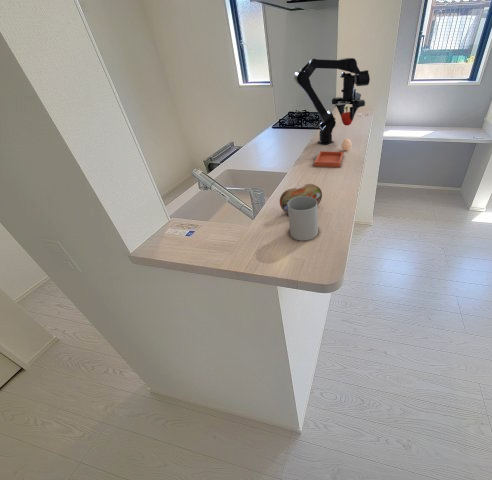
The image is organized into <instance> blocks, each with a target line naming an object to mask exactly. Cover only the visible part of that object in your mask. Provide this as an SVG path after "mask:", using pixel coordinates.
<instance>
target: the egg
mask: <svg viewBox="0 0 492 480" xmlns="http://www.w3.org/2000/svg"><path fill="white" fill-rule="evenodd" d="M351 148H352V142H351V140H350V139H349V138H345V139H343V140H342V142H341V149H342V150H343V151H345V152H347V151H349V150H350V149H351Z"/></svg>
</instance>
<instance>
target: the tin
mask: <svg viewBox="0 0 492 480" xmlns="http://www.w3.org/2000/svg"><path fill="white" fill-rule="evenodd" d="M300 196H308V197H312V198H314V199H315V200H316V201H317V206H319V204H320V203H321V201H322V198H323V192H322V189H321V188H320V187H319V186H318V185H316V184H313V183H306V184H303V185H300V186H299V185H298V186H296V187H293V188H288V189H286V190H285V191H283V192H282V194H281V195H280V196H279V197H280V198H279V207H280V208H281V210H282V211H283V212H284V214H286V215H289V214H288V202H289V200H291V199H293V198H295V197H300Z"/></svg>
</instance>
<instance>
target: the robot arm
mask: <svg viewBox="0 0 492 480" xmlns="http://www.w3.org/2000/svg"><path fill="white" fill-rule="evenodd" d="M317 69H325V70H327V69H330V70H331V69H332V70H340V71H342V72H341V74H339V78H342V80H343V81H342V89H341V93H342V96H337V97H336V96H335V97H332V99H331V105H334V106H335V107H336V109H337V110H338V111H337V112H338V113H339V116H341V115H342V113H345V109H344V108H345V107H346V105H351V106H349V112H350V118H351V120H353V121H354V119H355V115H356V113H357V111H358V109H359V108H362V107H365V106H366V101H365V99H361V97H362V94H361V93H359V92H357V89H356V88H355V86H356V87H365V86H369V85H370V80H371V78H370V74H369V70H368V69H366V70H365V69H364V70H360V68H359V66H358V62H357V60H356V59H355V58H354V57H345V58H340V59H323V58H322V59H317V58H311V59H309V61H308V62H307V63H306V64H305V65H304V66H303V67H302V68H301V69H299V70H297V71H296V72H295V73H294V77H293V79H294V81H295V83H296V84H297V85H298V86H299V87H300V88H301V89H302V90H303V91H304V92H305V95H306V96H307V97H308V99H309V100H310V102H311V103H312V105H313V106H314V108H315V110H316V112H317V113H318V115H319V118H320V121H321V122H320V124H319V125H318V130H319V141H318V140H317V143H318V144H321V145H329V144H332V143H334V141H333V135H332V133H333V130H334V128H335V127H336V124H337V122H336V118H335V116H334V114H333V112H331V111H330V110H328V111H327V110H326V108H325V106H324V104H323V103H322V101H321V99H320V98H319V96H318V95H317V93H316V91H315V90H314V88H313V86H312V82H311V80H310V78H311V76H312V75H313V74H314V72H315V70H317Z"/></svg>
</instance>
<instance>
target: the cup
mask: <svg viewBox="0 0 492 480" xmlns="http://www.w3.org/2000/svg"><path fill="white" fill-rule="evenodd" d="M318 212H319V211H318V205H317V201H316V200H315V199H314V198H312V197H308V196H300V197H295V198H293V199H291V200H289V202H288V214H287V215H288V223H289V233H290V237H291V238H293V239H294V240H297V241H304V242H305V241H310V240H313V239H314V238H316V237H317V235H318V233H319V216H318V214H319V213H318Z"/></svg>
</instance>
